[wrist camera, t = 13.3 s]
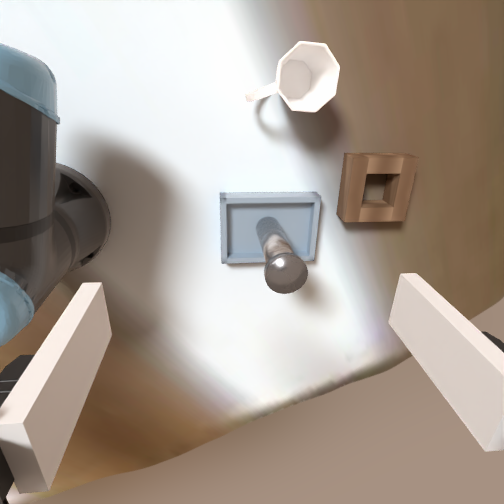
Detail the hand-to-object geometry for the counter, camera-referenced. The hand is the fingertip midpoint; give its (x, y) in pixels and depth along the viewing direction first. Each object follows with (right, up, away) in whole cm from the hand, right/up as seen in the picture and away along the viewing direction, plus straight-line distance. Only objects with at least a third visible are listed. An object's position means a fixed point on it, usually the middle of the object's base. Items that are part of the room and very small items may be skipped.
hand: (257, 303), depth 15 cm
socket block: (+17, +12, +35) cm, 41 cm away
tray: (+2, +6, +36) cm, 37 cm away
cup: (+3, +24, +28) cm, 37 cm away
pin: (+2, +6, +35) cm, 36 cm away
